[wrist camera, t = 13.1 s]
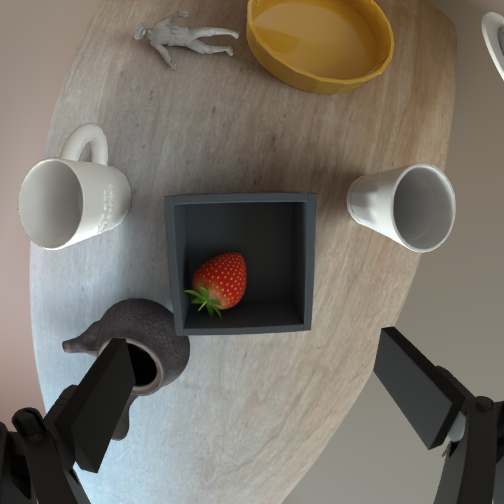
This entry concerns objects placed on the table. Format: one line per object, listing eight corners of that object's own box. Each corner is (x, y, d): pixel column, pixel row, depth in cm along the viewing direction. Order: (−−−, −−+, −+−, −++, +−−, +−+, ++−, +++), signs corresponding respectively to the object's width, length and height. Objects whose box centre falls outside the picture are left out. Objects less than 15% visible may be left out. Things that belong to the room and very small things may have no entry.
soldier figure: (226, 78, 31) (126, 71, 26) (220, 63, 33) (131, 57, 28) (245, 22, 24) (135, 10, 20) (237, 14, 27) (140, 4, 22)
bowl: (368, 0, 28) (380, -14, 23) (385, 103, 31) (403, 95, 27) (245, -17, 26) (246, -35, 22) (246, 90, 30) (248, 77, 26)
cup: (332, 177, 33) (380, 173, 21) (386, 162, 33) (446, 155, 21) (349, 240, 35) (399, 264, 23) (400, 221, 35) (460, 237, 23)
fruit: (260, 248, 30) (217, 307, 25) (261, 280, 34) (224, 334, 29) (216, 232, 32) (170, 284, 27) (221, 264, 36) (182, 313, 31)
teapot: (85, 278, 34) (46, 306, 24) (198, 306, 35) (187, 347, 26) (88, 387, 37) (64, 427, 27) (181, 413, 39) (172, 461, 29)
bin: (298, 192, 33) (316, 193, 26) (296, 303, 36) (311, 330, 29) (179, 194, 32) (164, 196, 25) (186, 307, 35) (176, 335, 28)
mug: (146, 136, 31) (105, 112, 19) (128, 235, 33) (83, 258, 21) (87, 131, 30) (32, 112, 18) (72, 225, 32) (15, 242, 20)
